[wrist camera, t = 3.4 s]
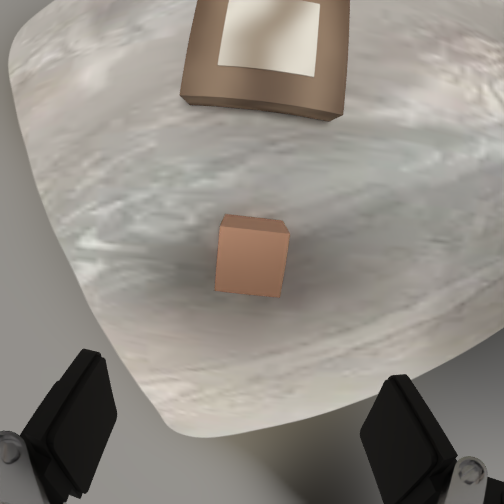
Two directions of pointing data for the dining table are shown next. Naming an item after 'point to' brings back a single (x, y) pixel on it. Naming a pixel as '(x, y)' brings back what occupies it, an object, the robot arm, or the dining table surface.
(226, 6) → the walnut frame
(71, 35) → the dining table surface
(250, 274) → the terracotta cube
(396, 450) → the robot arm
